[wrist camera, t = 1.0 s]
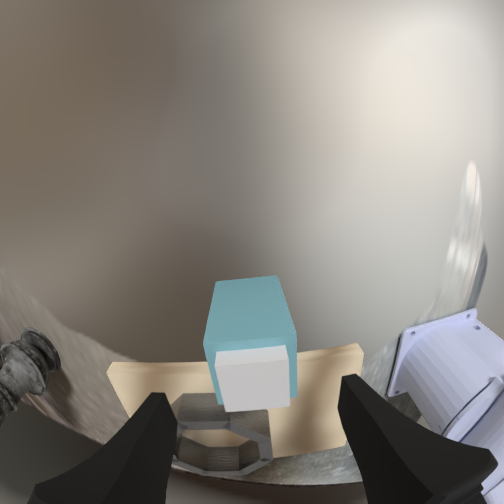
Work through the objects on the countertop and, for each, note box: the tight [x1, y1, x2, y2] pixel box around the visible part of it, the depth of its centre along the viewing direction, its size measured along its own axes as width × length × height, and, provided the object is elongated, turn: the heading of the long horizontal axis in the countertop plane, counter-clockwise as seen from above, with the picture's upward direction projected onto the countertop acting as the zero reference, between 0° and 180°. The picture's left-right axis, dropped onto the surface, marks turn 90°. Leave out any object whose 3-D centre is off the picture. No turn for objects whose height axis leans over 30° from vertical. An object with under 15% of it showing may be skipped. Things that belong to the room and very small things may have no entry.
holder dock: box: [106, 343, 364, 476], centre depth 20 cm, size 20×13×4 cm, turn 96°
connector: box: [203, 275, 297, 412], centre depth 15 cm, size 4×4×8 cm
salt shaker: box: [0, 327, 60, 426], centre depth 14 cm, size 6×6×12 cm
